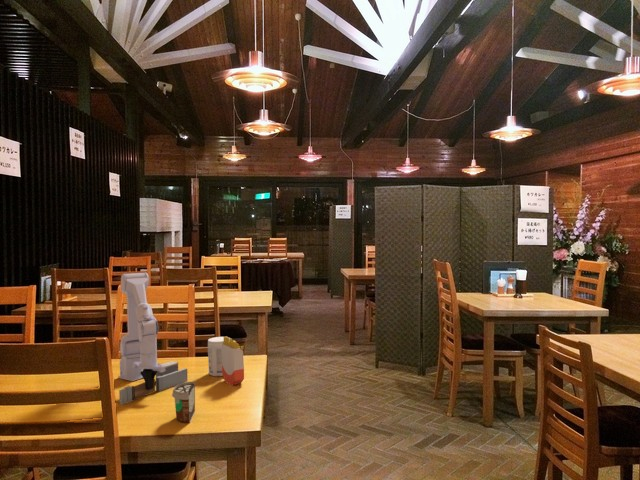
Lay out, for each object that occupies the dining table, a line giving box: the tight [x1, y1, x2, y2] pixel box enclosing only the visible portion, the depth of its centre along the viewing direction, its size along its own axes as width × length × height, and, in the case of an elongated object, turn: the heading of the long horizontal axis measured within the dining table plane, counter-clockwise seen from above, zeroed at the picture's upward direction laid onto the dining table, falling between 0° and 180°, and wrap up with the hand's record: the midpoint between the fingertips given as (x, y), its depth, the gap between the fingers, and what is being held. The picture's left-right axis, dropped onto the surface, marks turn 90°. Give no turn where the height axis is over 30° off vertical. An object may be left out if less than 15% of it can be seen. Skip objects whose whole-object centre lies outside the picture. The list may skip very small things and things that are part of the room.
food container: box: [171, 380, 196, 424], centre depth 155 cm, size 12×6×10 cm, turn 5°
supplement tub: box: [207, 336, 231, 377], centre depth 202 cm, size 10×10×15 cm
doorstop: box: [155, 360, 179, 378], centre depth 196 cm, size 4×8×6 cm, turn 148°
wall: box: [118, 367, 188, 406], centre depth 180 cm, size 2×30×5 cm, turn 148°
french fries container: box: [222, 335, 245, 386], centre depth 190 cm, size 5×11×18 cm, turn 37°
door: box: [130, 378, 156, 402], centre depth 176 cm, size 1×11×5 cm, turn 156°
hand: (149, 389), depth 178 cm, fingers closed
